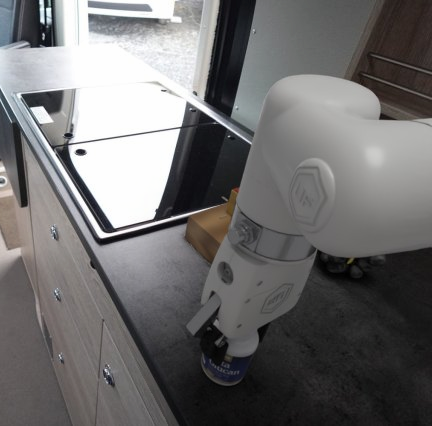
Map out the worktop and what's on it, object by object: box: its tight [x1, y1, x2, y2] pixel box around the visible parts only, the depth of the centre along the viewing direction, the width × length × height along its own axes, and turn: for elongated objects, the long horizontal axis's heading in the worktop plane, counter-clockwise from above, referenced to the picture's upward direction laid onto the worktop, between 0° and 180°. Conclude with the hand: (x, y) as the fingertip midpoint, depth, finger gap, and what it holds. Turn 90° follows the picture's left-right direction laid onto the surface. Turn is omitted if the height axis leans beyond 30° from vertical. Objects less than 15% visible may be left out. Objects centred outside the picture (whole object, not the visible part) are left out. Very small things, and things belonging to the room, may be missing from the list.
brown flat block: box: [183, 196, 231, 265], centre depth 64 cm, size 14×14×5 cm
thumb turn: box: [226, 187, 240, 216], centre depth 63 cm, size 5×2×5 cm, turn 118°
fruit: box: [319, 251, 387, 279], centre depth 61 cm, size 9×8×15 cm
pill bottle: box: [200, 319, 260, 387], centre depth 44 cm, size 5×5×10 cm
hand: (230, 343), depth 44 cm, fingers closed on pill bottle, 5 cm apart
